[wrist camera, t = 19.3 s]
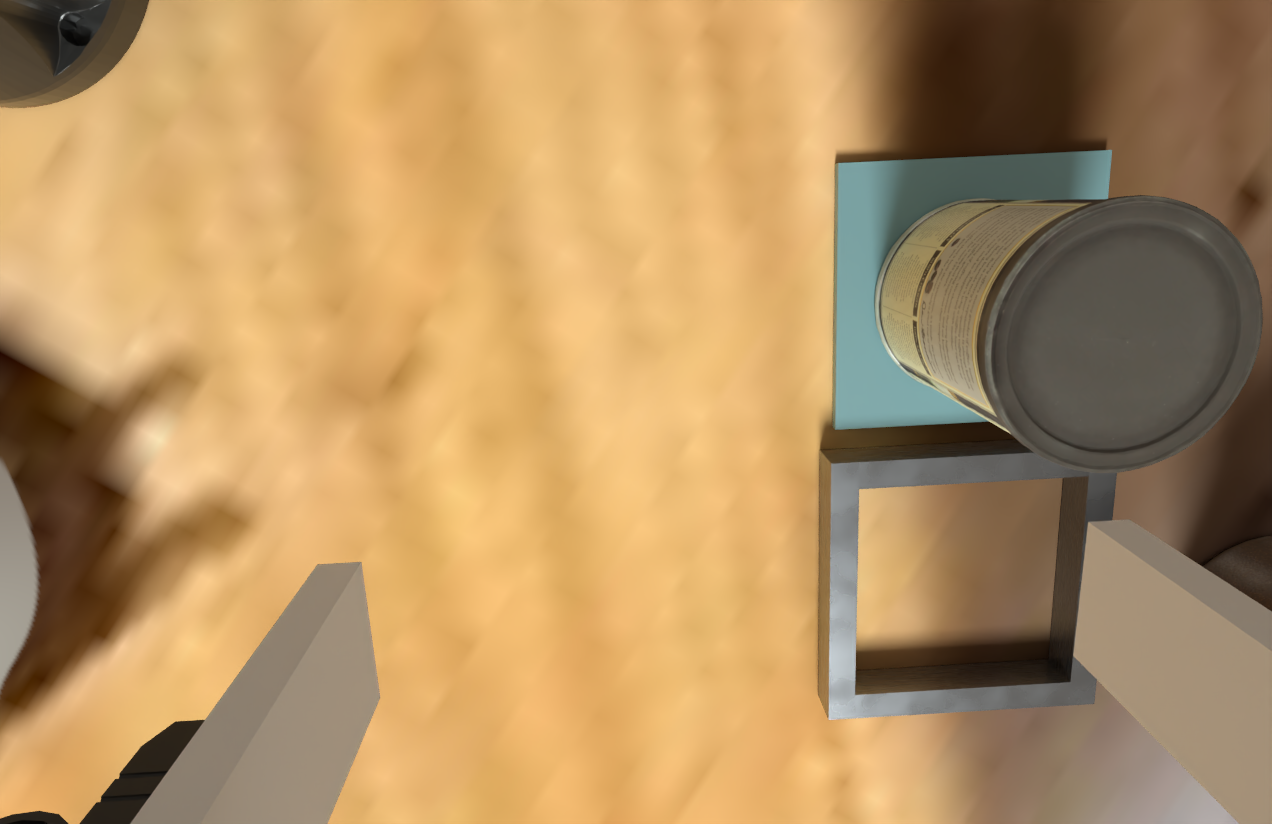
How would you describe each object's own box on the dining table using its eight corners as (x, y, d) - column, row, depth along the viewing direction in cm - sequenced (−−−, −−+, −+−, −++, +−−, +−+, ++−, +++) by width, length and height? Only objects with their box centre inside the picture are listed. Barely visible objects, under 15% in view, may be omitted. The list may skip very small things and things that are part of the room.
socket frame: (818, 695, 51) (828, 719, 49) (819, 449, 47) (831, 463, 45) (1071, 679, 51) (1094, 703, 49) (1093, 435, 47) (1119, 447, 45)
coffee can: (1055, 175, 43) (1259, 166, 30) (1073, 368, 46) (1270, 441, 32) (857, 221, 44) (970, 232, 30) (886, 410, 46) (1002, 500, 32)
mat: (832, 426, 47) (835, 429, 46) (835, 163, 43) (838, 163, 43) (1082, 413, 47) (1088, 416, 47) (1105, 150, 44) (1112, 150, 43)
